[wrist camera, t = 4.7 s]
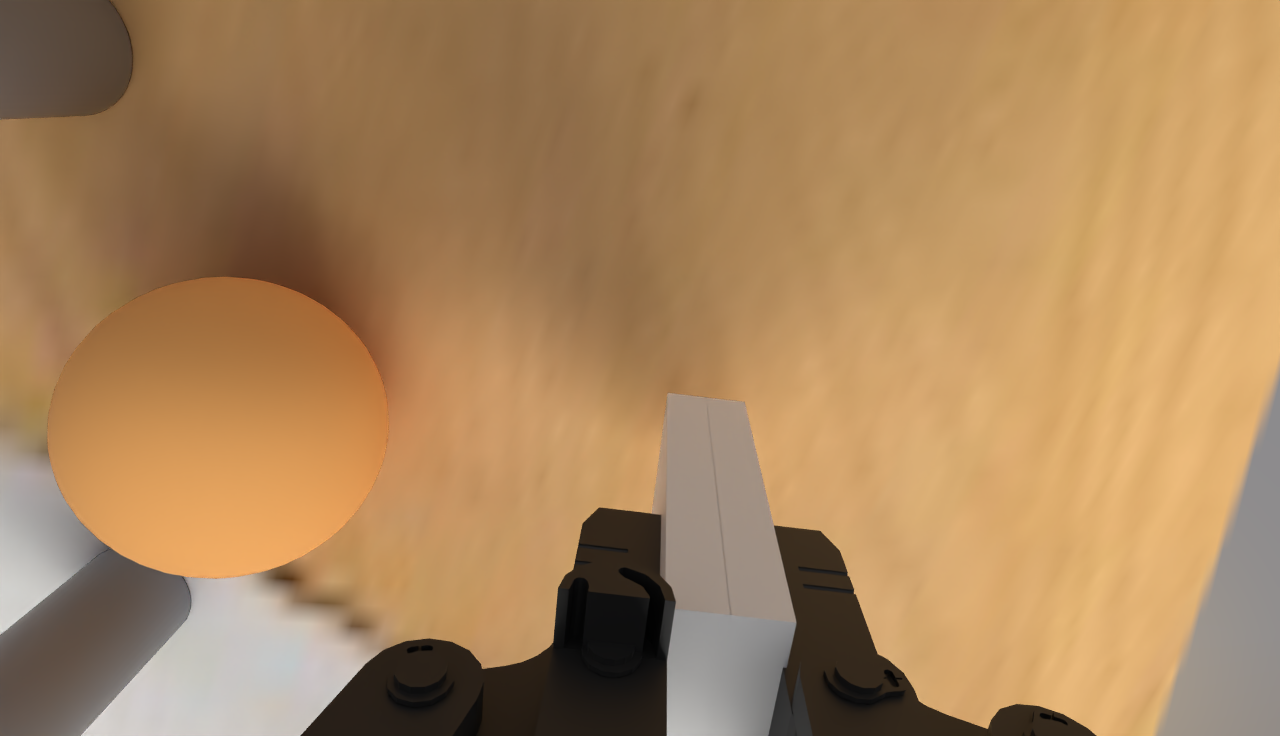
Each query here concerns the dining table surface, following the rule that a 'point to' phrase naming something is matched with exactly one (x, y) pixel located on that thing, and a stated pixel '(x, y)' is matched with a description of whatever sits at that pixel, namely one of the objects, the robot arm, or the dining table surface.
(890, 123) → the dining table surface
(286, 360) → the ball
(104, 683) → the post
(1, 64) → the post
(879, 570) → the dining table surface
